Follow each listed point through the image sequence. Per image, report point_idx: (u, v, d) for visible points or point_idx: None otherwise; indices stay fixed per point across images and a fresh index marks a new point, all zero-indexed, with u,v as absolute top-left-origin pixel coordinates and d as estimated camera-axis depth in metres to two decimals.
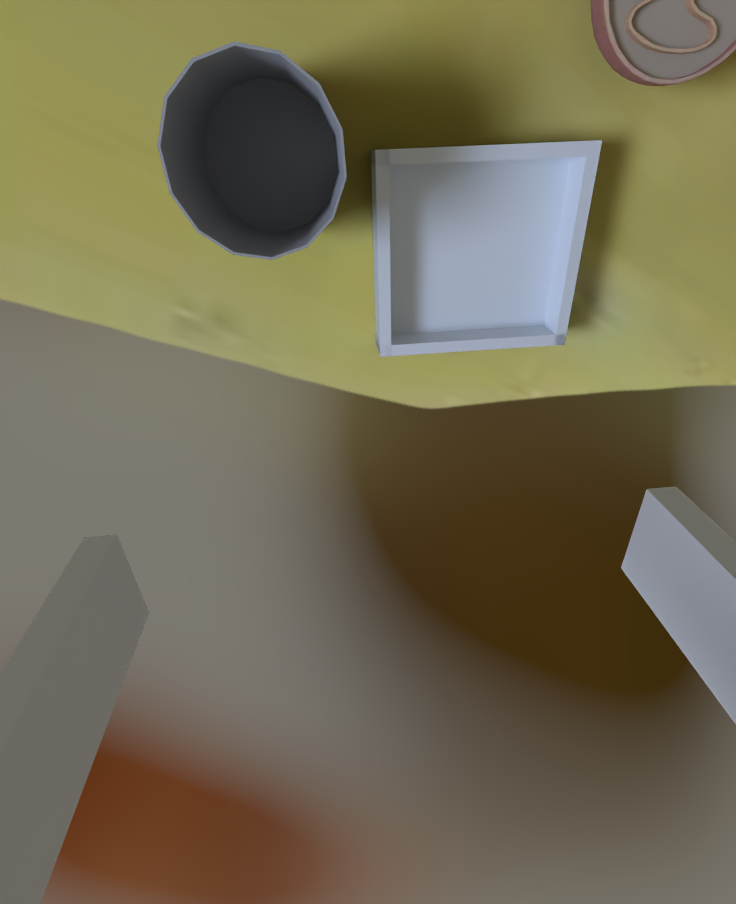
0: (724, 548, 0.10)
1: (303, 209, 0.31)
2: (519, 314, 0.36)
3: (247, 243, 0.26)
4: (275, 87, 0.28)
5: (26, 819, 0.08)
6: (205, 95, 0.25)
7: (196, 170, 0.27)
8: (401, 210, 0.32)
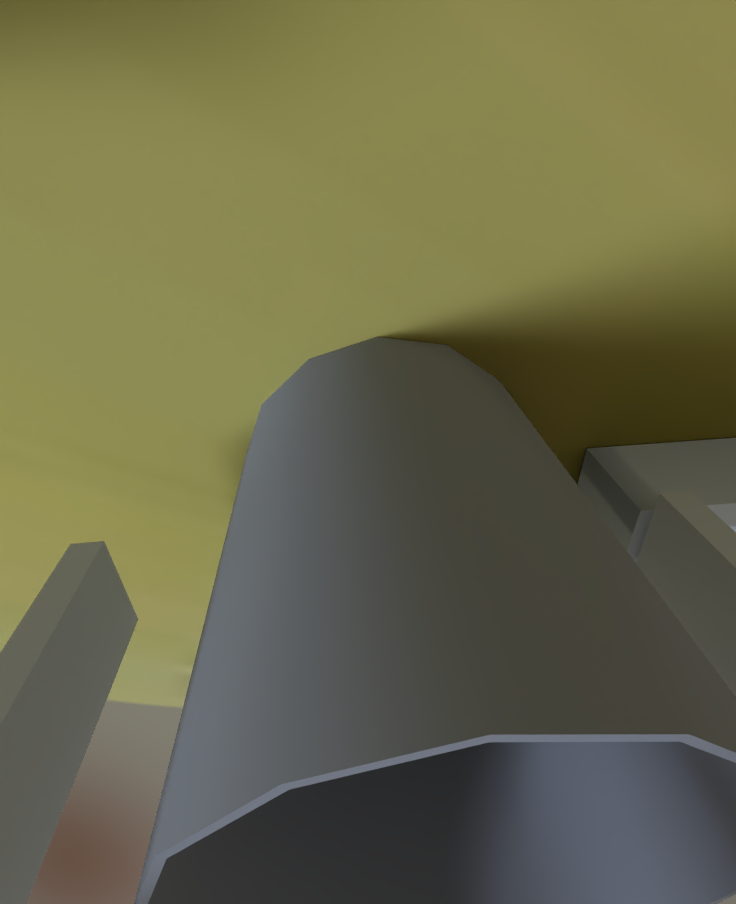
0: None
1: None
2: None
3: (363, 790, 0.11)
4: None
5: (4, 836, 0.07)
6: None
7: None
8: None
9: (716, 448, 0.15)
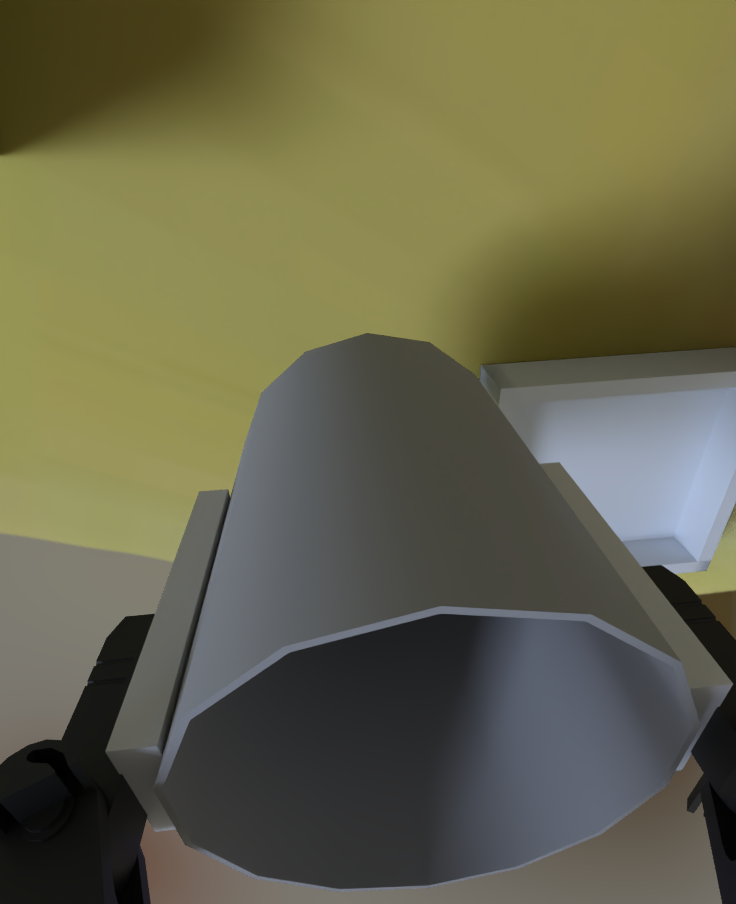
0: (583, 513, 0.11)
1: None
2: (646, 527, 0.29)
3: (346, 734, 0.12)
4: None
5: None
6: None
7: None
8: None
9: (560, 363, 0.24)
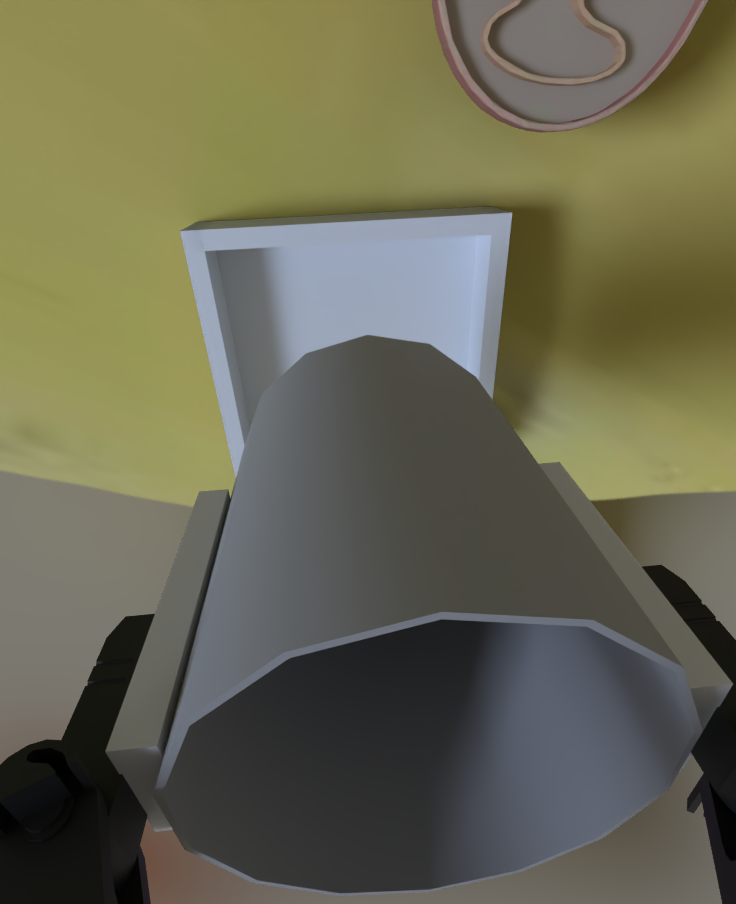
0: (583, 513, 0.11)
1: None
2: None
3: (347, 737, 0.12)
4: None
5: None
6: None
7: None
8: (248, 301, 0.23)
9: (279, 218, 0.22)
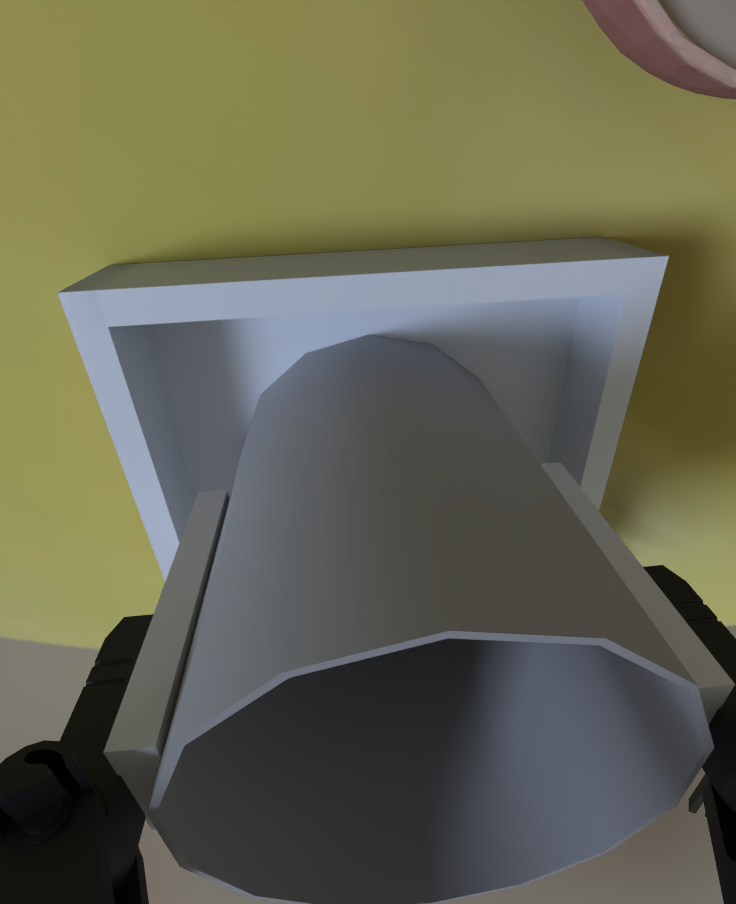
0: (584, 513, 0.11)
1: None
2: None
3: (346, 745, 0.12)
4: None
5: None
6: None
7: None
8: (201, 391, 0.14)
9: (250, 260, 0.13)
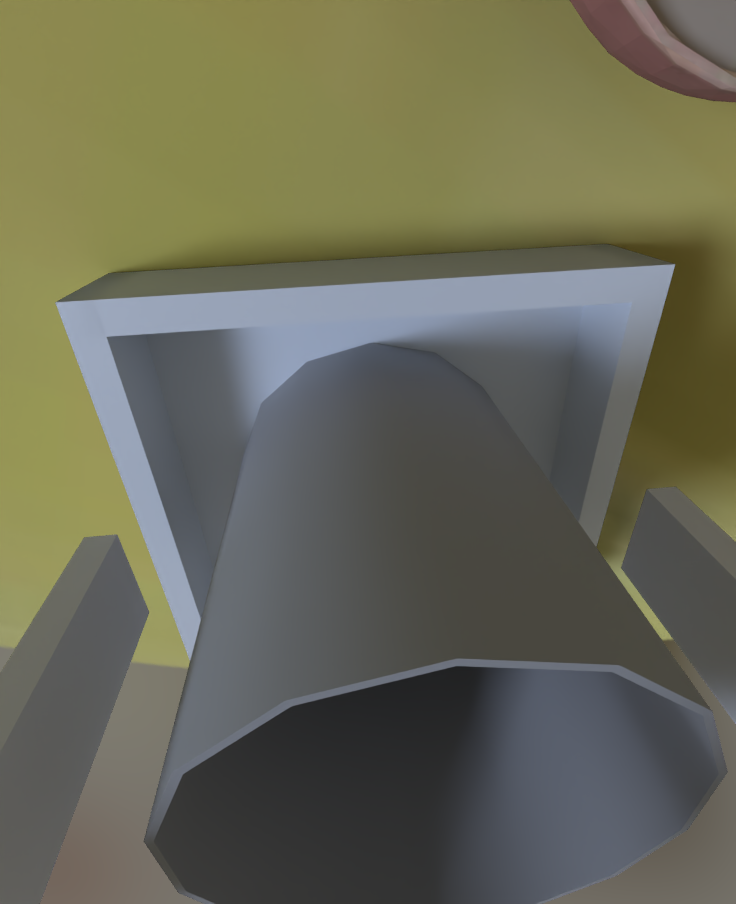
0: (724, 548, 0.10)
1: None
2: None
3: (348, 761, 0.12)
4: None
5: (26, 819, 0.08)
6: None
7: None
8: (201, 399, 0.14)
9: (250, 268, 0.12)
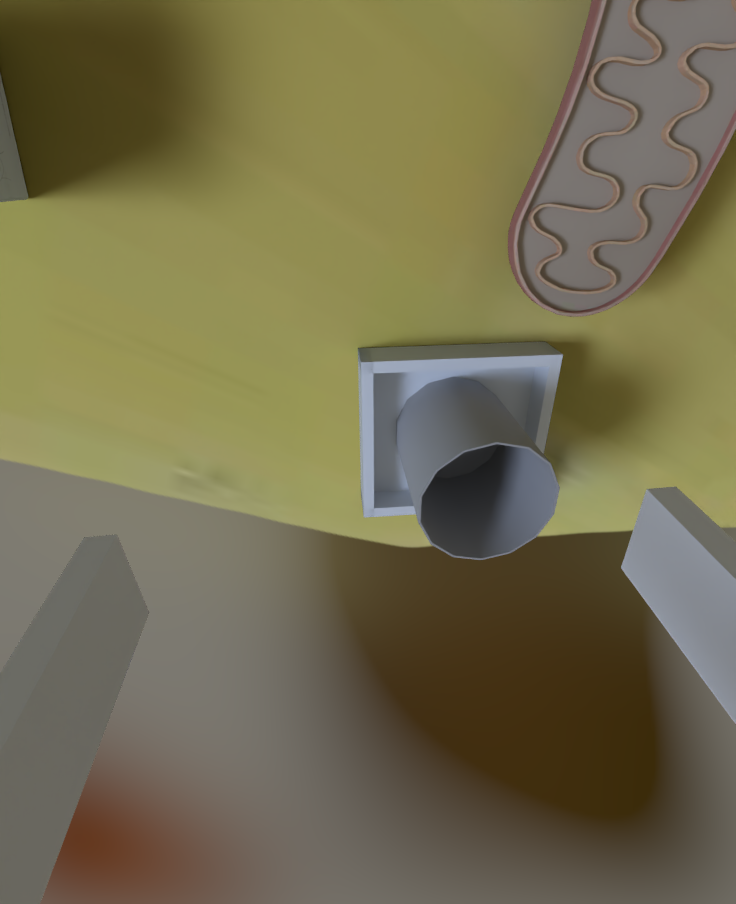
0: (724, 548, 0.10)
1: (467, 464, 0.38)
2: None
3: (447, 526, 0.33)
4: None
5: (26, 819, 0.08)
6: (430, 420, 0.31)
7: (405, 459, 0.33)
8: (384, 396, 0.35)
9: (412, 348, 0.34)
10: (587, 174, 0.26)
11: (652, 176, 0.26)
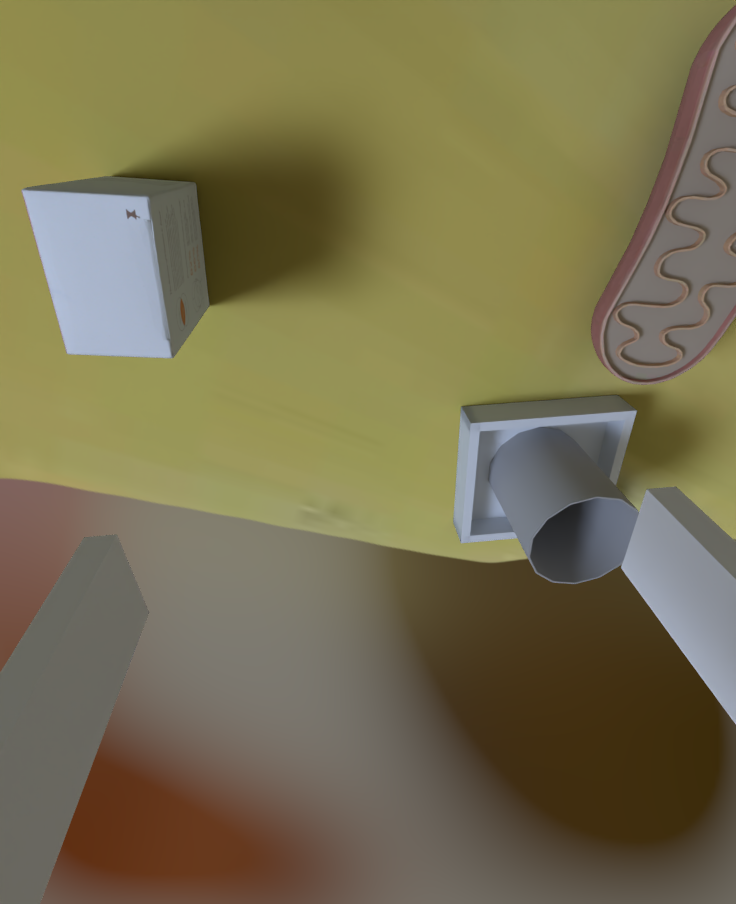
0: (724, 548, 0.10)
1: None
2: None
3: (541, 554, 0.40)
4: None
5: (26, 819, 0.08)
6: (529, 469, 0.38)
7: None
8: (481, 444, 0.42)
9: (507, 406, 0.40)
10: (662, 279, 0.32)
11: (715, 277, 0.32)
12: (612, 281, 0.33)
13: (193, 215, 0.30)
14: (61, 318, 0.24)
